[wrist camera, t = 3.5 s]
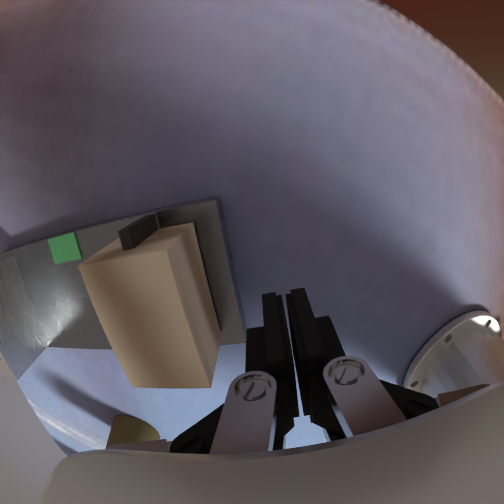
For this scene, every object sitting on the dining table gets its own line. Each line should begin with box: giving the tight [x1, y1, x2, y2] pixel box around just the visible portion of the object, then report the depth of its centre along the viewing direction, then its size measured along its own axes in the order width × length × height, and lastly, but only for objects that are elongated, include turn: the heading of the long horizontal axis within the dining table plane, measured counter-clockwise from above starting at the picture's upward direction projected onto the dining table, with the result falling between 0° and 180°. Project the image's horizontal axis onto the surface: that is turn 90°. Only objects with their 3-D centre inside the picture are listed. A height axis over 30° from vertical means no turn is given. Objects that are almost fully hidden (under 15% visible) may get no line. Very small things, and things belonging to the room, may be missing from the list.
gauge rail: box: [0, 197, 247, 380], centre depth 16 cm, size 22×10×8 cm, turn 100°
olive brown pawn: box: [106, 415, 160, 448], centre depth 21 cm, size 6×6×11 cm
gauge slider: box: [78, 214, 221, 388], centre depth 15 cm, size 5×9×5 cm, turn 10°
